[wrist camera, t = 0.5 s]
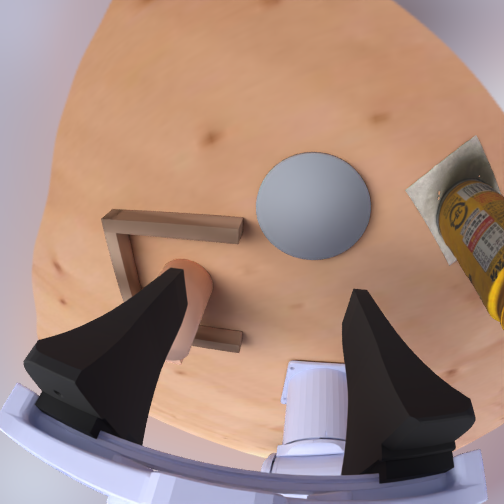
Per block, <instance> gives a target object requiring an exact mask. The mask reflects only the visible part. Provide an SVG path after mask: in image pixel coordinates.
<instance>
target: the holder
mask: <svg viewBox="0 0 504 504" xmlns="http://www.w3.org/2000/svg"><path fill="white" fill-rule="evenodd" d="M101 220H102V225H103V229H104V233H105V238H106V242H107V246H108V250H109V253H110V257H111V261H112V265H113V268H114V272H115V275H116V279H117V282H118V285H119V289H120V292H121V295H122V298H123V301H124V302H125V301H127V300H128V299H130V298H131V297H132V296H134V295H135V294H137V293H138V292H139V291H141V287H140V283H139V279H138V275H137V271H136V266H135V262H134V258H133V253H132V249H131V244H130V239H129V234H132V235H143V236H154V237H165V238H176V239H187V240H198V241H209V242H219V243H230V244H239V241H240V238H241V236H242V233H243V218H242V217H230V216H217V215H203V214H188V213H173V212H156V211H137V210H116V209H112V210H111V211H110V212H109V213H108V214H106V215H105V216H104V217H103V218H102V219H101ZM241 343H242V331H234V330H227V329H220V328H213V327H206V326H200V325H199V327H198V329H197V332H196V335H195V337H194V340H193V343H192V346H197V347H202V348H208V349H215V350H221V351H228V352H235V353H239V352H240V347H241Z"/></svg>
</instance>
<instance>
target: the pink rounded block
mask: <svg viewBox="0 0 504 504" xmlns="http://www.w3.org/2000/svg"><path fill="white" fill-rule="evenodd" d="M169 268H178V269H184V277H185V285H186V293H187V300H188V306H187V310H186V313H185V316H184V319H183V322H182V325H181V327H180V329H179V332H178V334H177V336H176V338H175V340H174V342H173V345H172V347H171V349H170V351H169V353H168V355H167V357H166V362H170V363H174V364H179V365H181V364H182V361H183V359H184V358H185V357H186V356H187V355H188V354H189V351H190V348H191V346H192V343H193V340H194V337H195V335H196V332H197V329H198V327H199V324H200V322H201V319H202V316H203V314H204V311H205V308H206V306H207V303H208V300H209V298H210V295H211V293H212V290H213V282H212V279H211V277H210V275H209V274H208V272H207V271H206V270H205V269H204V268H203V267H202V266H200V265H199V264H197V263H195V262H193V261H190V260H186V259H176V260H172V261H170V262H168V263H167V264H166V265H165V266H164V268H163V270H162V271H161V273H160V274H159V276H160V275H161V274H163V273H164V272H165V271H166V270H168V269H169ZM159 276H158V277H159Z"/></svg>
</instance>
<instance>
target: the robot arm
mask: <svg viewBox="0 0 504 504" xmlns="http://www.w3.org/2000/svg"><path fill="white" fill-rule="evenodd" d="M187 306H188V300H187V293H186V285H185V277H184V269H178V268H169V269H168V270H166V271H165V272H164V273H163V274H161V275H160V276H159V277H157V278H156V279H155V280H154V281H152V282H151V283H150V284H149V285H147V286H146V287H145V288H143V289H142V290H141V291H139V292H138V293H137V294H135V295H134V296H132V297H131V298H130V299H128V300H127V301H125V302H124V303H122V304H121V305H119V306H118V307H116V308H115V309H113V310H111V311H110V312H108V313H106V314H104V315H103V316H101V317H99V318H97V319H95V320H93V321H91V322H89V323H87V324H85V325H82V326H80V327H78V328H75V329H73V330H70V331H67V332H65V333H62V334H59V335H55V336H52V337H48V338H45V339H41V340H38V341H37V343H36V344H35V346H34V347H33V348H32V350H31V351H30V353H29V354H28V356H27V357H26V359H25V360H24V367H25V369H26V371H27V372H28V374H29V375H30V377H31V378H32V379H33V380H34V382H35V383H36V384H37V385H38V387H39V388H40V389H41V390H42V393H41V395H40V396H39V395H37V394H36V393H35V392H33V391H32V390H30V389H28V388H27V387H25V386H23V385H21V384H20V383H17V384H16V385H15V387H14V389H13V390H12V392H11V394H10V395H9V397H8V399H7V401H6V402H5V404H4V405H3V407H2V409H1V411H0V430H1V431H2V432H3V433H5V434H6V435H7V436H8V437H10V438H11V439H12V440H13V441H15V442H16V443H17V444H19V445H20V446H21V447H23V448H24V449H26V450H27V451H28V452H30V453H31V454H33V455H34V456H36V457H38V458H39V459H40V460H42V461H43V462H45V463H47V464H48V465H50V466H51V467H53V468H55V469H56V470H58V471H60V472H61V473H63V474H65V475H67V476H69V477H70V478H72V479H74V480H76V481H78V482H80V483H81V484H83V485H85V486H87V487H89V488H91V489H93V490H96V491H98V492H100V493H102V494H104V495H107V496H109V497H108V500H107V502H106V504H481V503H483V502H485V501H487V499H488V498H487V488H486V480H485V473H484V467H483V460H482V455H481V450H480V449H477V450H474V451H470V452H466V453H462V454H460V455H457V456H455V457H453V454H452V451H453V450H455V448H456V446H455V440H456V439H458V438H459V437H460V436H462V435H463V434H464V433H465V432H467V431H468V430H469V429H470V428H471V427H472V425H473V424H474V422H475V414H474V410H473V407H472V403H471V400H470V398H468V397H466V396H465V395H463V394H462V393H460V392H459V391H457V390H456V389H454V388H453V387H451V386H450V385H449V384H448V383H446V382H445V381H444V380H442V379H441V378H440V377H439V376H437V375H436V374H435V373H434V372H433V371H432V370H431V369H430V368H429V367H427V366H426V365H425V364H424V363H423V362H422V361H421V360H420V359H419V358H418V357H417V356H416V355H415V354H414V352H413V351H412V350H411V349H410V348H409V347H408V346H407V345H406V343H405V342H404V341H403V340H402V339H401V337H400V336H399V335H398V334H397V332H396V331H395V330H394V328H393V327H392V326H391V324H390V323H389V321H388V320H387V319H386V317H385V316H384V314H383V313H382V311H381V310H380V308H379V307H378V306H377V304H376V303H375V301H374V300H373V298H372V297H371V295H370V294H369V292H368V291H367V290H361V289H353V292H352V295H351V298H350V301H349V304H348V307H347V310H346V313H345V316H344V319H343V322H342V345H343V353H344V362H345V364H337V363H320V362H306V361H290V362H289V364H288V369H287V374H286V378H285V383H284V388H283V392H282V397H281V403H282V404H287V405H286V415H285V425H284V435H283V444H282V445H278V446H277V453H272V454H270V455H269V456H268V458H266V460H265V461H264V463H263V465H262V468H261V472H258V471H250V470H243V469H237V468H230V467H224V466H219V465H214V464H209V463H204V462H200V461H195V460H191V459H186V458H183V457H179V456H175V455H171V454H168V453H164V452H160V451H157V450H154V449H151V448H147V447H144V446H142V444H143V438H144V433H145V428H146V423H147V418H148V414H149V410H150V406H151V402H152V398H153V395H154V391H155V388H156V384H157V381H158V378H159V375H160V372H161V369H162V367H163V364H164V362H165V360H166V357H167V355H168V353H169V351H170V349H171V347H172V345H173V342H174V340H175V338H176V336H177V334H178V332H179V329H180V327H181V325H182V322H183V319H184V316H185V313H186V310H187ZM150 468H151V469H150ZM153 469H154V470H158V471H153Z"/></svg>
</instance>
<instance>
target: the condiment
mask: <svg viewBox="0 0 504 504" xmlns="http://www.w3.org/2000/svg"><path fill="white" fill-rule="evenodd" d="M479 175H480V177H479ZM405 191H406V192H407V194H408V195H409V197H410V198H411V200H412V201H413V203H414V204H415V206H416V207H417V209H418V211H419V212H420V214H421V215H422V217H423V219H424V220H425V222H426V224H427V226H428V227H429V229H430V231H431V233H432V234H433V236H434V238H435V240H436V241H437V243H438V245H439V247H440V249H441V250H442V252H443V254H444V256H445V258H446V260H447V262H448V264H449V266H450V265H451V264H452V263H454V262H455V261H456V260H457V261H458V262H459V264H460V266H461V267H462V269H463V271H464V272H465V274H466V276H467V277H468V278H469V279H470V281H471V283H472V284H473V286H474V288H475V289H476V291H477V293H478V295H479V296H480V299H481V300H482V302H483V304H484V305H485V307H486V309H487V311H488V313H489V314H490V316H491V317H492V318H493V319H495V320H497V321H499V322H500V324H501V326H502V328H503V330H504V197H503V196H502V195H501V193H500V190H499V187H498V185H497V182H496V179H495V177H494V173H493V171H492V169H491V167H490V164H489V162H488V160H487V158H486V155H485V153H484V151H483V148H482V146H481V144H480V142H479V140H478V138H477V136H476V135H475V136H474V137H473V138H471V139H470V140H469V141H467V142H466V143H464V144H463V145H462V146H461V147H459V148H458V149H457V150H456V151H454V152H453V153H451V154H450V155H449V156H448V157H446V158H445V159H444V160H443V161H441V162H440V163H439V164H437V165H436V166H434V168H433V169H431V170H430V171H429V172H428V173H427V174H425V175H424V176H422V177H421V178H420V179H418V180H417V181H416V182H415V183H414V184H413V185H411V186H410V187H409V188H407V189H406V190H405ZM438 191H440V195H438ZM438 197H440V199H439V200H438Z"/></svg>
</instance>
